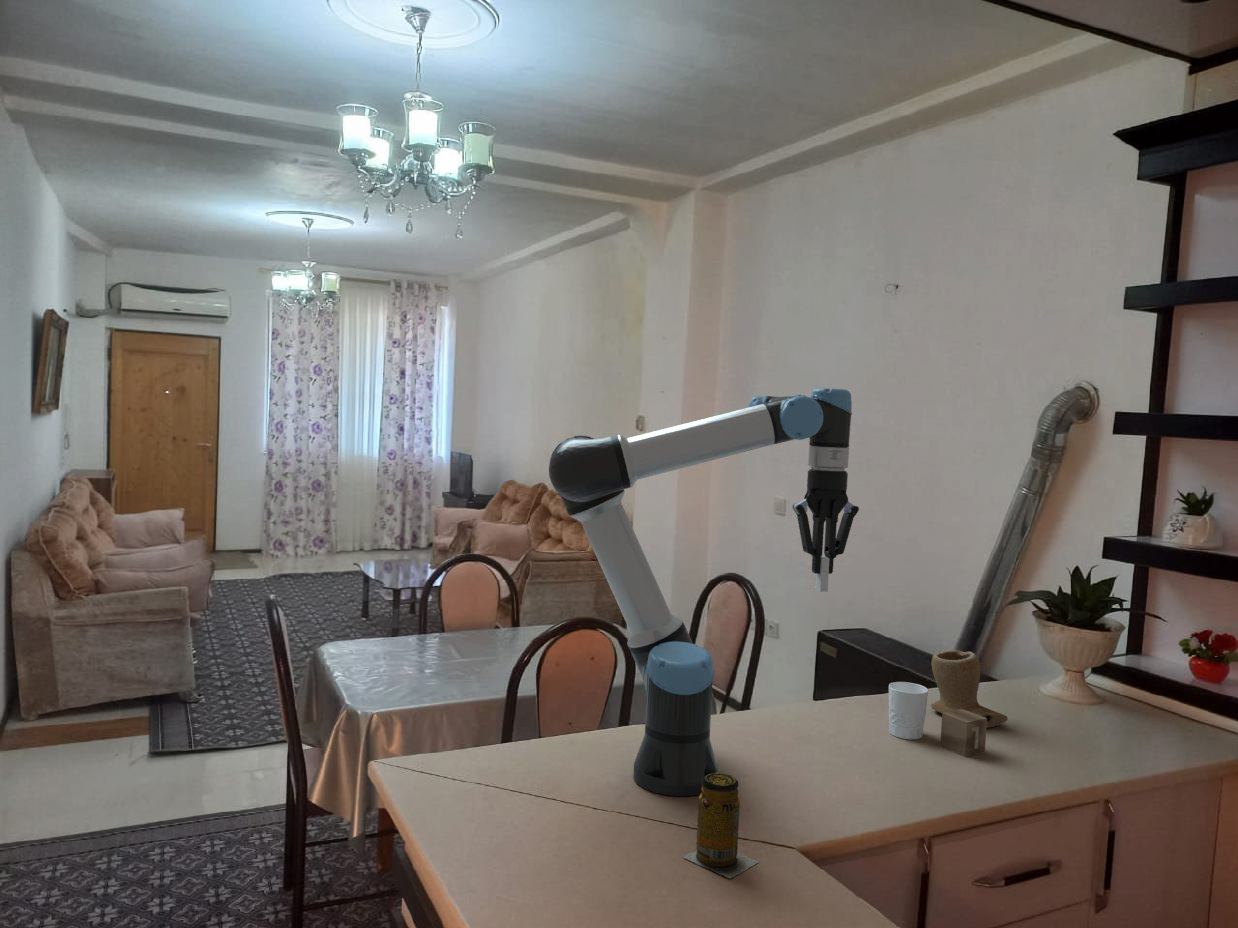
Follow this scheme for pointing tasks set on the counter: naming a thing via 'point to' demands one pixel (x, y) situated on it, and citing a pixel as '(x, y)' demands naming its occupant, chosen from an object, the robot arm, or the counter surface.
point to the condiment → (719, 827)
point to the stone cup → (960, 685)
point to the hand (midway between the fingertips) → (821, 589)
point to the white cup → (907, 709)
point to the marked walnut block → (963, 732)
